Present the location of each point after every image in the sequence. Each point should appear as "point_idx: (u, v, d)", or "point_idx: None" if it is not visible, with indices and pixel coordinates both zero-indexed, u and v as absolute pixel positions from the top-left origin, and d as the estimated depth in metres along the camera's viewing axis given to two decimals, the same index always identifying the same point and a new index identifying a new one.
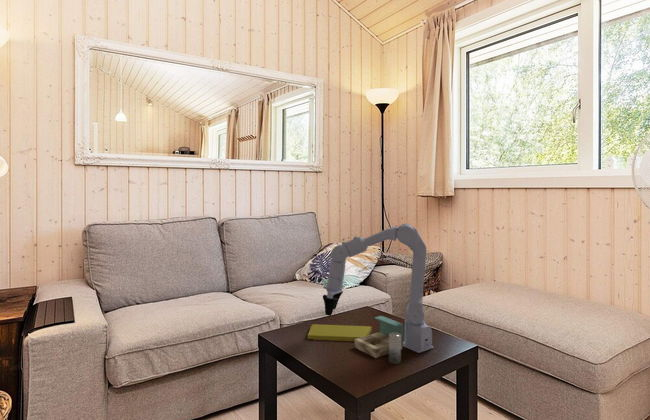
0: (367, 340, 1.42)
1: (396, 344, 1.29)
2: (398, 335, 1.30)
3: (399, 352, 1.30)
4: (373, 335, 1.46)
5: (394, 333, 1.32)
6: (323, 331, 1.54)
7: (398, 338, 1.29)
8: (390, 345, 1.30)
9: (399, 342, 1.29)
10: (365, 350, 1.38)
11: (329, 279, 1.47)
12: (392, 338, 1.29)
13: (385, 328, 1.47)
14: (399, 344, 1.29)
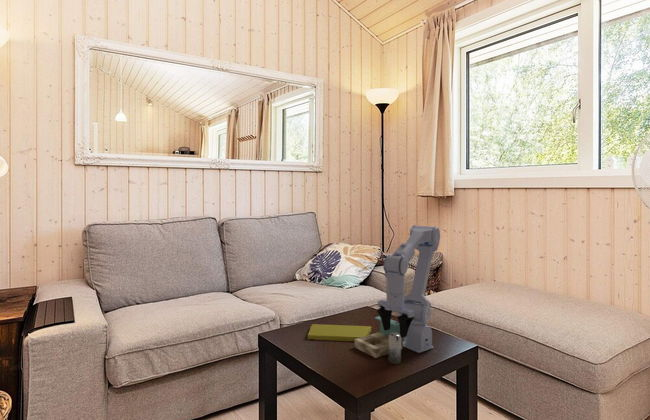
0: (367, 340, 1.42)
1: (396, 344, 1.29)
2: (398, 335, 1.30)
3: (399, 352, 1.30)
4: (373, 335, 1.46)
5: (394, 333, 1.32)
6: (323, 331, 1.54)
7: (398, 338, 1.29)
8: (390, 345, 1.30)
9: (399, 342, 1.29)
10: (365, 350, 1.38)
11: (395, 297, 1.27)
12: (392, 338, 1.29)
13: None
14: (399, 344, 1.29)
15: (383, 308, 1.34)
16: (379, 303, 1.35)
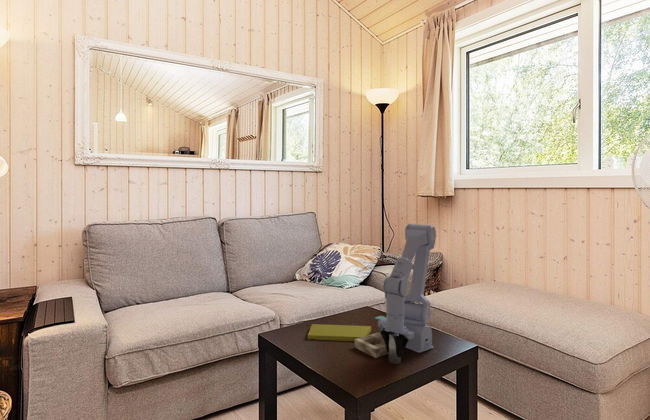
0: (367, 340, 1.42)
1: None
2: (398, 335, 1.30)
3: None
4: (373, 335, 1.46)
5: (394, 333, 1.32)
6: (323, 331, 1.54)
7: None
8: (390, 345, 1.30)
9: None
10: (365, 350, 1.38)
11: (395, 319, 1.28)
12: (392, 338, 1.29)
13: None
14: None
15: (383, 328, 1.34)
16: (379, 323, 1.35)
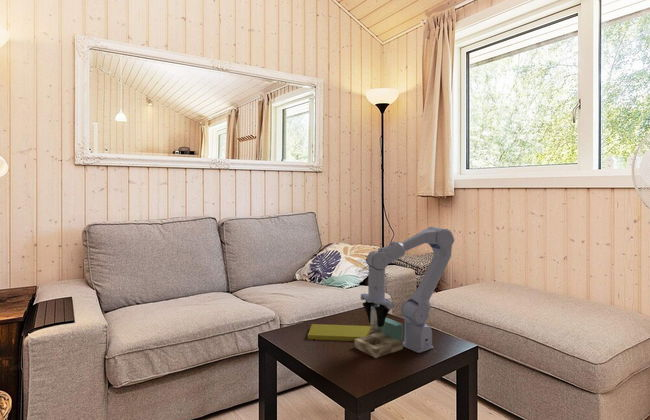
0: (367, 340, 1.42)
1: None
2: None
3: None
4: (373, 335, 1.46)
5: (375, 305, 1.40)
6: (323, 331, 1.54)
7: None
8: (372, 316, 1.38)
9: None
10: (365, 350, 1.38)
11: (376, 290, 1.36)
12: (374, 309, 1.37)
13: (385, 328, 1.47)
14: None
15: None
16: (362, 296, 1.43)
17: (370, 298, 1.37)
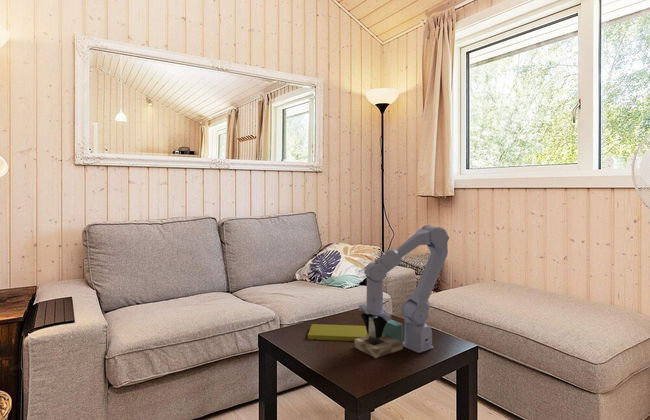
0: (367, 340, 1.42)
1: None
2: None
3: None
4: None
5: (374, 316, 1.41)
6: (323, 331, 1.54)
7: None
8: (370, 327, 1.39)
9: None
10: (365, 350, 1.38)
11: (374, 302, 1.37)
12: (372, 321, 1.38)
13: (385, 328, 1.47)
14: None
15: (364, 312, 1.43)
16: (360, 307, 1.45)
17: (368, 310, 1.38)
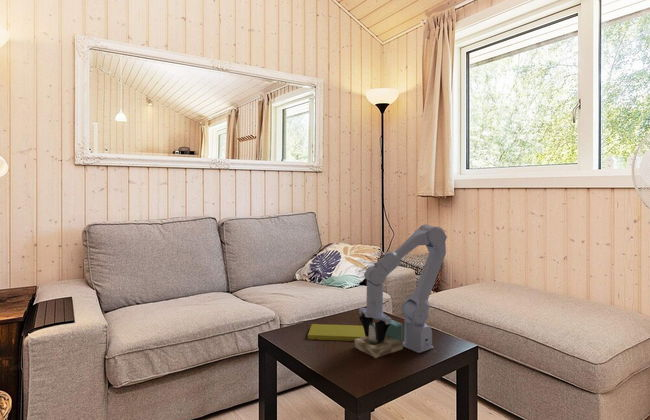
0: (367, 340, 1.42)
1: (375, 333, 1.38)
2: None
3: None
4: None
5: (374, 323, 1.41)
6: (323, 331, 1.54)
7: None
8: (370, 334, 1.39)
9: None
10: (365, 350, 1.38)
11: (374, 305, 1.37)
12: (371, 328, 1.39)
13: None
14: None
15: (364, 315, 1.43)
16: (360, 310, 1.45)
17: (368, 313, 1.38)
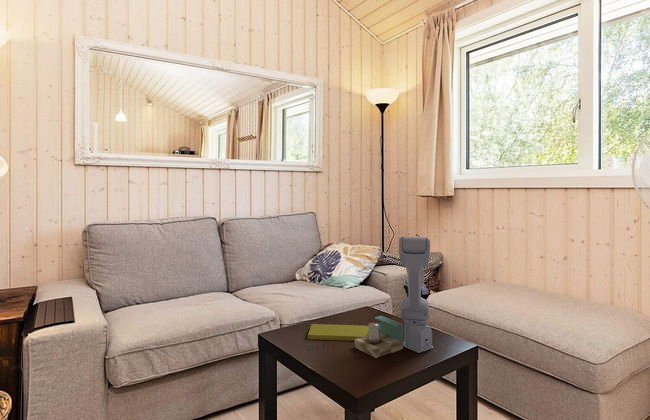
0: (367, 340, 1.42)
1: (375, 333, 1.38)
2: (377, 325, 1.39)
3: (378, 341, 1.39)
4: None
5: (373, 323, 1.41)
6: (323, 331, 1.54)
7: (377, 327, 1.38)
8: (369, 334, 1.39)
9: (378, 331, 1.39)
10: (365, 350, 1.38)
11: None
12: (371, 328, 1.39)
13: (385, 328, 1.47)
14: (378, 333, 1.39)
15: None
16: (406, 280, 1.61)
17: None
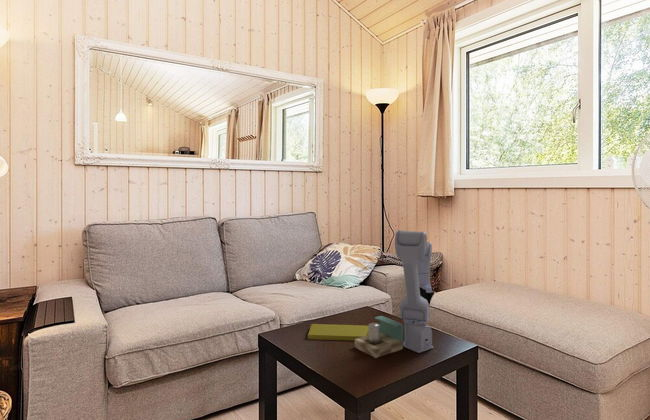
0: (367, 340, 1.42)
1: (375, 333, 1.38)
2: (377, 325, 1.39)
3: (378, 341, 1.39)
4: None
5: (373, 323, 1.41)
6: (323, 330, 1.55)
7: (377, 327, 1.38)
8: (369, 334, 1.39)
9: (378, 332, 1.39)
10: (365, 350, 1.38)
11: (419, 275, 1.55)
12: (371, 328, 1.38)
13: (385, 328, 1.47)
14: (378, 333, 1.39)
15: None
16: None
17: None
